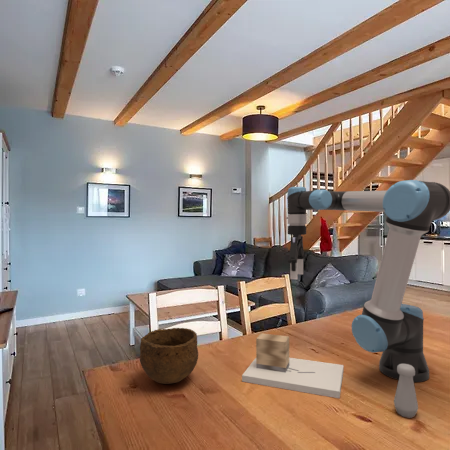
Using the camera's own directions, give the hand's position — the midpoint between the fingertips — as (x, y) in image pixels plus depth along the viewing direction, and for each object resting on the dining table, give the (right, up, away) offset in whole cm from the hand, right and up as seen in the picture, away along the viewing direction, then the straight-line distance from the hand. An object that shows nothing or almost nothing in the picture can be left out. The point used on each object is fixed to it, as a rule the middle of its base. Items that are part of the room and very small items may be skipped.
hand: (297, 276), depth 144 cm
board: (-7, -29, -27) cm, 40 cm away
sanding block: (-13, -27, -24) cm, 39 cm away
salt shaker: (+19, -29, -50) cm, 61 cm away
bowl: (-48, -30, -30) cm, 63 cm away
